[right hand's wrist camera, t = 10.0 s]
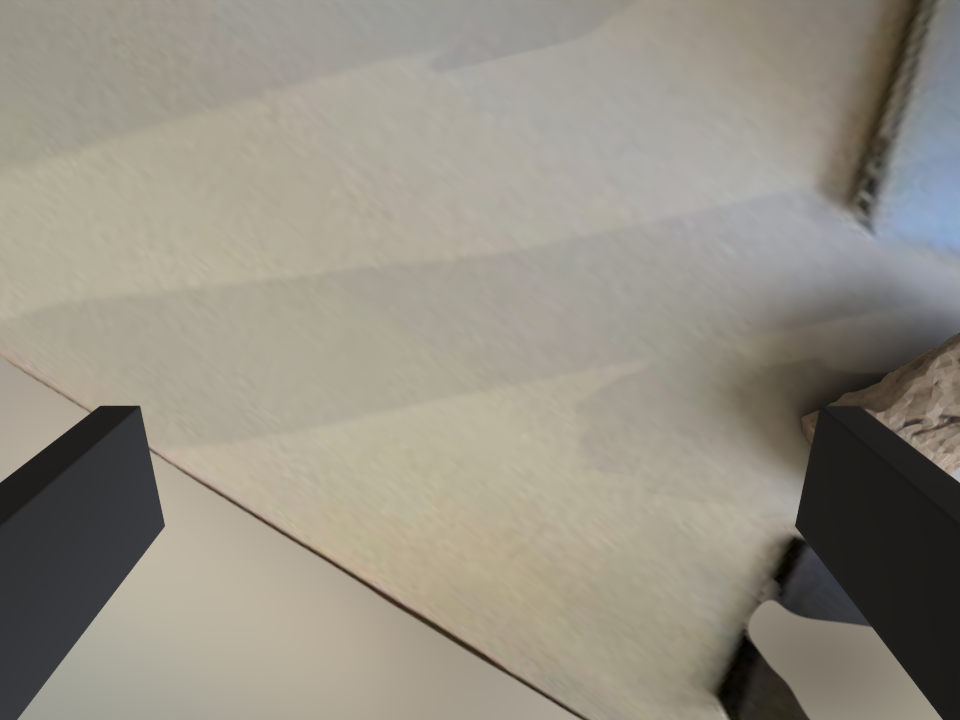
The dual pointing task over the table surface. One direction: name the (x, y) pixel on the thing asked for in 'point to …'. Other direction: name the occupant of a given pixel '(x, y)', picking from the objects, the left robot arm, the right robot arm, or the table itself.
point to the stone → (916, 404)
